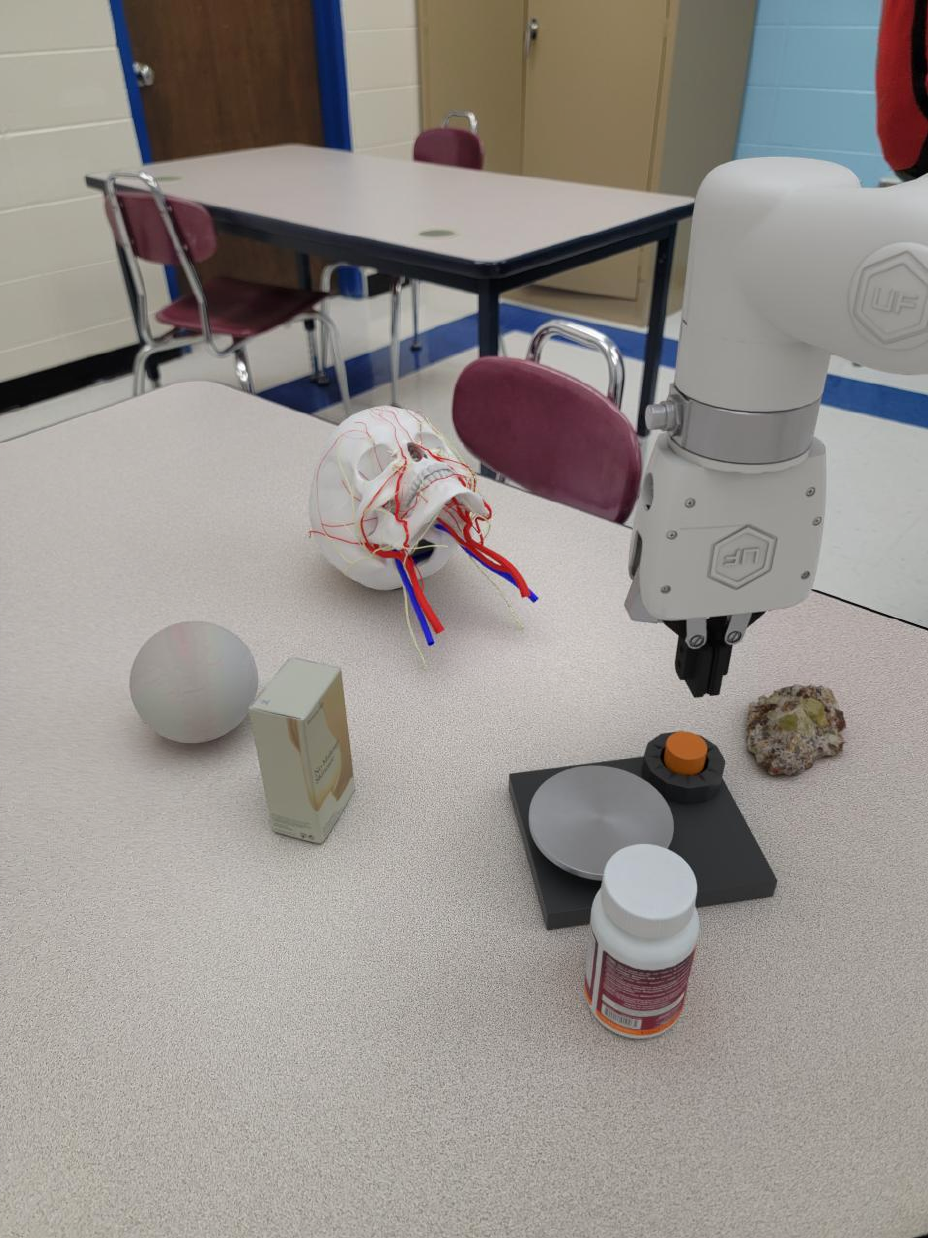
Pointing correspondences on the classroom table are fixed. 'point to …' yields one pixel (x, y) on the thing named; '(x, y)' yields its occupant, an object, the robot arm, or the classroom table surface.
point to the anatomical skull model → (399, 508)
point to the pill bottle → (641, 941)
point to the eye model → (193, 681)
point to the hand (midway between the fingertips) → (698, 682)
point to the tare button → (685, 753)
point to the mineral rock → (795, 728)
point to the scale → (701, 837)
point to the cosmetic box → (303, 748)
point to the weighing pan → (596, 817)
